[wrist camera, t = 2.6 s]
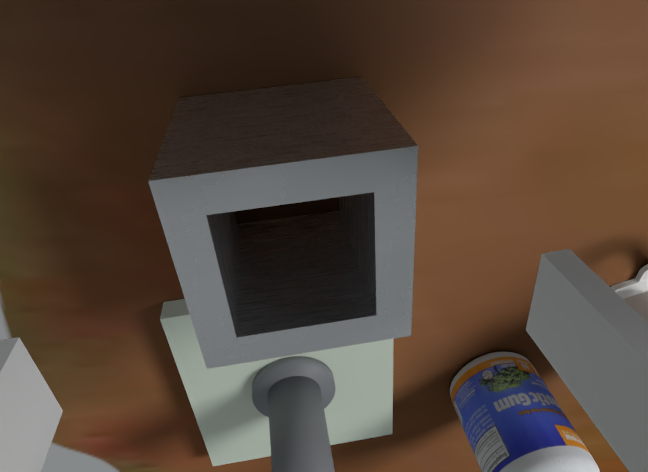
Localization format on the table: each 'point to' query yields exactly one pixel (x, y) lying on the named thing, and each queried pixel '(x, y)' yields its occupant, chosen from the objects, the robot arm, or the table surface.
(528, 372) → the pill bottle
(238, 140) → the hollow grey square tube
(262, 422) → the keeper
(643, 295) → the cup
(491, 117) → the table surface
